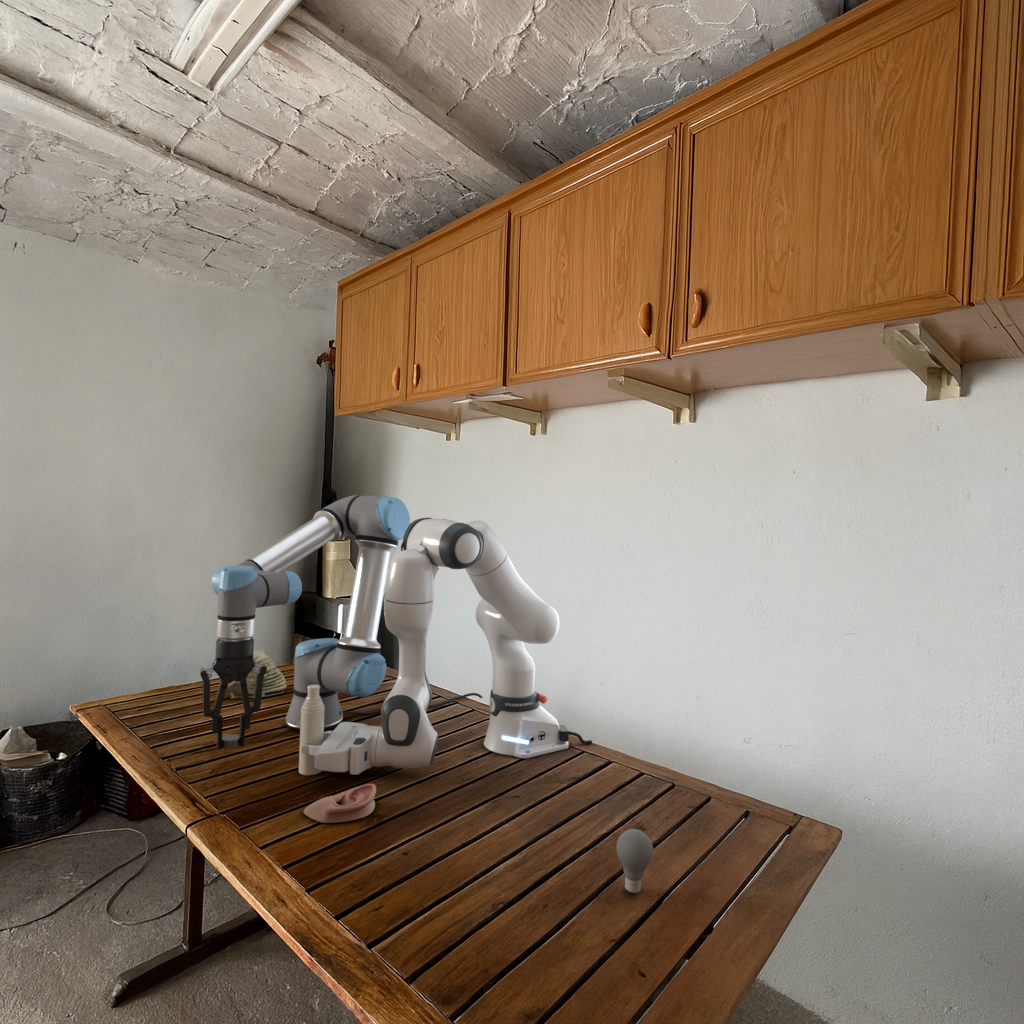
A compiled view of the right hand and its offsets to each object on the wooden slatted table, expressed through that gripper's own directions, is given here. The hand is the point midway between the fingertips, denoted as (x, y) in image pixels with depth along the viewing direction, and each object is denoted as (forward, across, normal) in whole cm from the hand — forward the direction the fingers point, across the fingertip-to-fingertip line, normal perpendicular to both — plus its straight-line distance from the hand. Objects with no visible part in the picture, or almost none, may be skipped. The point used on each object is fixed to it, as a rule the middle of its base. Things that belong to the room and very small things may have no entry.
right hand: (307, 742), depth 146 cm
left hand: (+14, +10, -2) cm, 17 cm away
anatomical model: (-13, +18, +6) cm, 23 cm away
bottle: (-1, 0, +6) cm, 6 cm away
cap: (+14, +10, -4) cm, 17 cm away
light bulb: (-68, +39, +6) cm, 79 cm away
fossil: (+34, -51, +6) cm, 62 cm away
